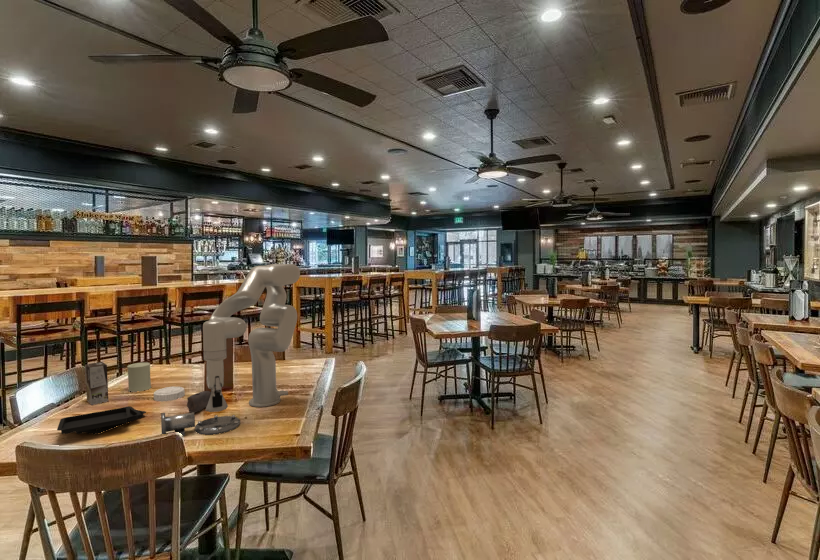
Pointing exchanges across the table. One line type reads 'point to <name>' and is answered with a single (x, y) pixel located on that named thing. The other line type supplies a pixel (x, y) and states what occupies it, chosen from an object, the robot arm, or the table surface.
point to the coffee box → (96, 382)
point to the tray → (99, 420)
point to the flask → (216, 409)
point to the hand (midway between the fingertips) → (216, 403)
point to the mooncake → (169, 393)
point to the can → (139, 377)
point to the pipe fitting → (203, 427)
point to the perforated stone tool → (198, 401)
